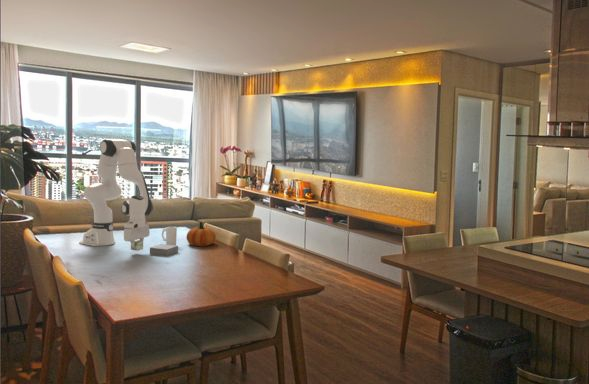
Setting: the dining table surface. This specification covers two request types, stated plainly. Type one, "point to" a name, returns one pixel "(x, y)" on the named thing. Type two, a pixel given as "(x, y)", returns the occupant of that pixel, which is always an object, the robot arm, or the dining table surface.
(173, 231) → the mug
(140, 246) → the cube
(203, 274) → the dining table surface
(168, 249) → the riser block
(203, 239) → the pumpkin
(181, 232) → the dining table surface
